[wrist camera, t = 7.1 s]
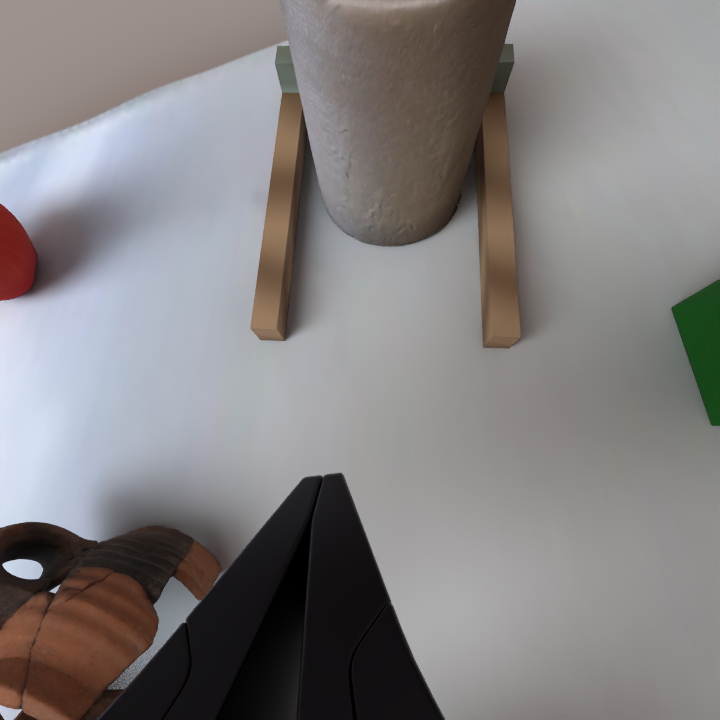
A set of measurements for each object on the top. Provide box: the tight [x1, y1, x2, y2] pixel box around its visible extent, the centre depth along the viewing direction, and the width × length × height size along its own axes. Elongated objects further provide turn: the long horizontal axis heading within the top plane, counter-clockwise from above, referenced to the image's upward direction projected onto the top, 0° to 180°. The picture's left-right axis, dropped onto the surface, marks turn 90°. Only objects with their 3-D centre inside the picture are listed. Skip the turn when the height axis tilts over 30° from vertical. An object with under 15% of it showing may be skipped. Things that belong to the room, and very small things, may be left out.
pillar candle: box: [280, 0, 516, 246], centre depth 19 cm, size 10×10×15 cm
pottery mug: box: [0, 522, 221, 720], centre depth 18 cm, size 12×10×8 cm
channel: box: [251, 44, 521, 348], centre depth 24 cm, size 19×15×4 cm
